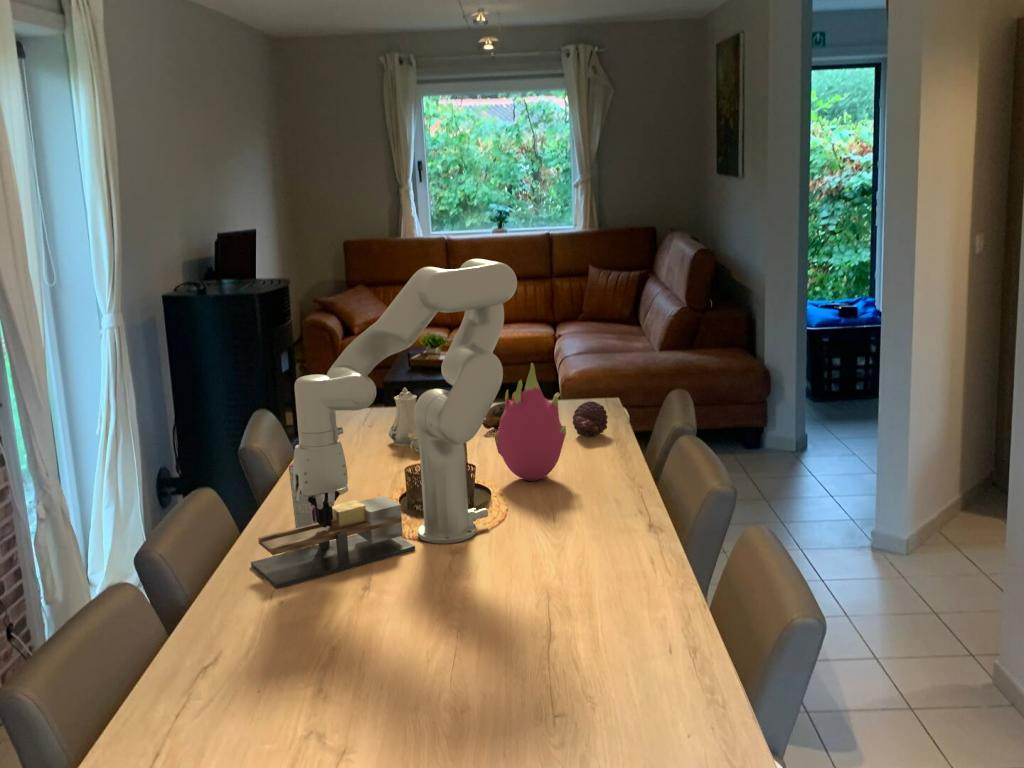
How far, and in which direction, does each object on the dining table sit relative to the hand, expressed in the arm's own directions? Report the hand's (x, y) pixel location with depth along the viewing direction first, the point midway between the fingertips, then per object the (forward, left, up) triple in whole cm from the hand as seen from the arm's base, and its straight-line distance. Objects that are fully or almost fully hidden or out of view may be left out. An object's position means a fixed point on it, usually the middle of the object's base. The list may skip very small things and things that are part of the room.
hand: (324, 524), depth 204 cm
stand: (-1, 0, -8) cm, 8 cm away
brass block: (-5, 0, -1) cm, 5 cm away
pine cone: (-96, -36, -8) cm, 103 cm away
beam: (-1, 0, -5) cm, 5 cm away
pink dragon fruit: (-61, -15, -8) cm, 64 cm away
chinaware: (-56, -64, -8) cm, 85 cm away
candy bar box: (-5, -19, -8) cm, 21 cm away
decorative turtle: (-82, -59, -8) cm, 102 cm away
